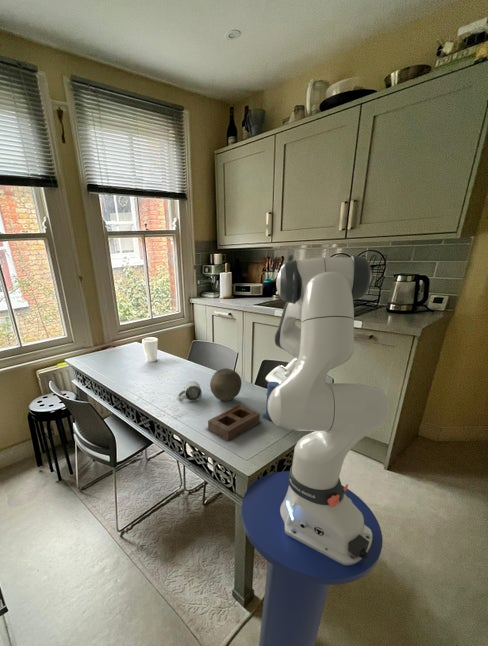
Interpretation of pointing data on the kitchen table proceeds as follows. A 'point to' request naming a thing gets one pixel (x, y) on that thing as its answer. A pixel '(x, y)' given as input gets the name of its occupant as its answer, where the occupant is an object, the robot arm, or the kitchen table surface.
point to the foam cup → (150, 348)
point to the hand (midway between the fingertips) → (271, 399)
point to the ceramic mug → (191, 391)
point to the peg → (269, 389)
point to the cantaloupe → (225, 384)
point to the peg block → (233, 422)
